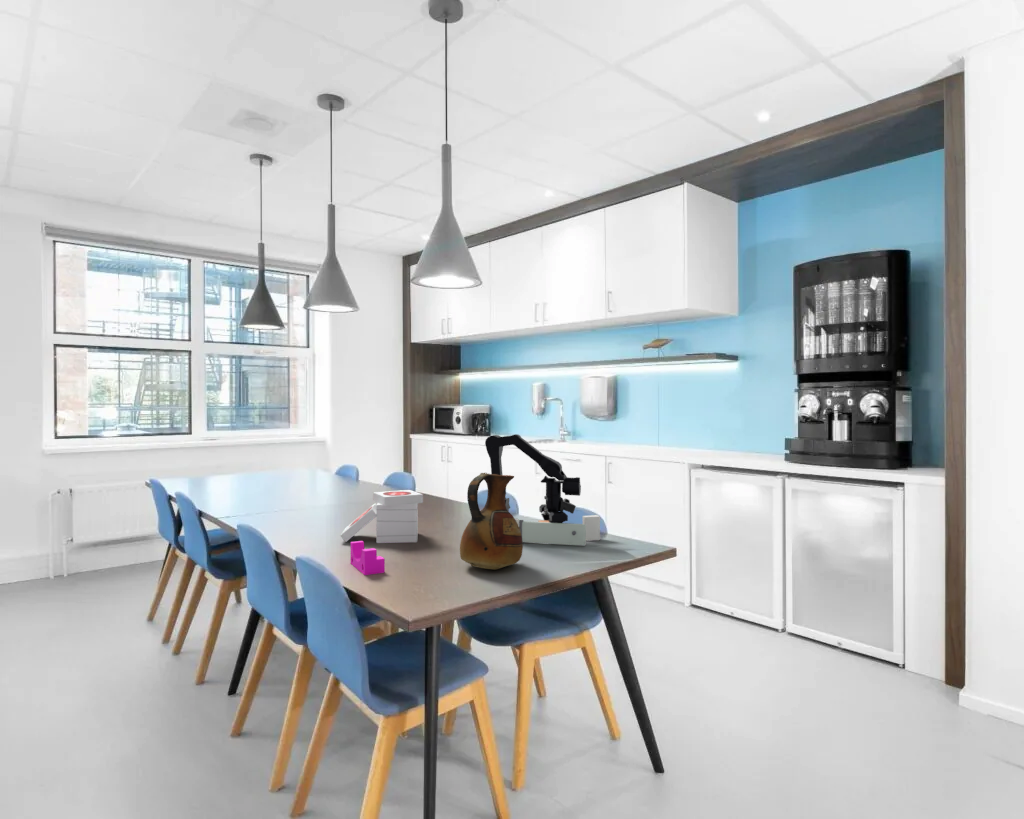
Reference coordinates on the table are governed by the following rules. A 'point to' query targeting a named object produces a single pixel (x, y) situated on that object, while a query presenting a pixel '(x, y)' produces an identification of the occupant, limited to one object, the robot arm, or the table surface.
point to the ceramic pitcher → (491, 527)
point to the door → (553, 533)
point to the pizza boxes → (390, 517)
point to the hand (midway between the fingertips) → (552, 534)
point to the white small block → (588, 527)
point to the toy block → (366, 559)
